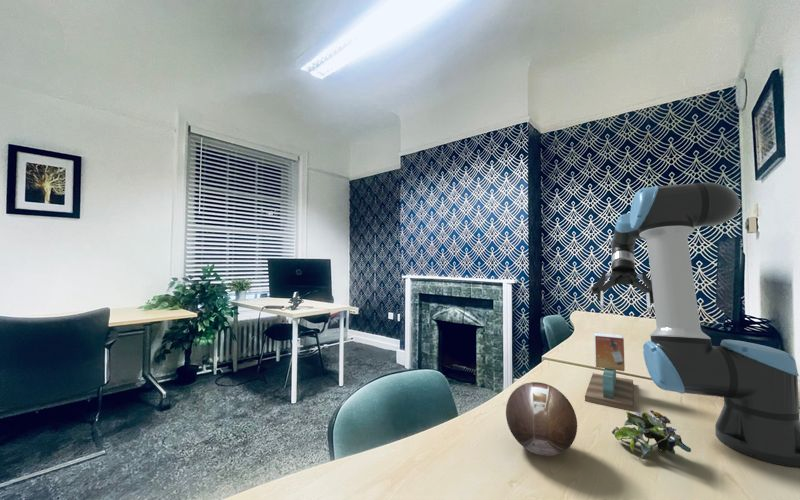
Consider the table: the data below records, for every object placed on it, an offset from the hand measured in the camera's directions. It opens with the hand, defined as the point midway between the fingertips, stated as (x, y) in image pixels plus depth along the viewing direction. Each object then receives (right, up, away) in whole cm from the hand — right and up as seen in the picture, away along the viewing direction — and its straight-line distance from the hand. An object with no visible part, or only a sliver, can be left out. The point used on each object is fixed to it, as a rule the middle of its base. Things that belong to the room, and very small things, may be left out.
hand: (624, 308), depth 113 cm
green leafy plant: (-23, -25, -41) cm, 54 cm away
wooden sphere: (-47, -26, -39) cm, 66 cm away
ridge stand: (-10, -26, -8) cm, 29 cm away
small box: (-10, -18, -7) cm, 22 cm away
